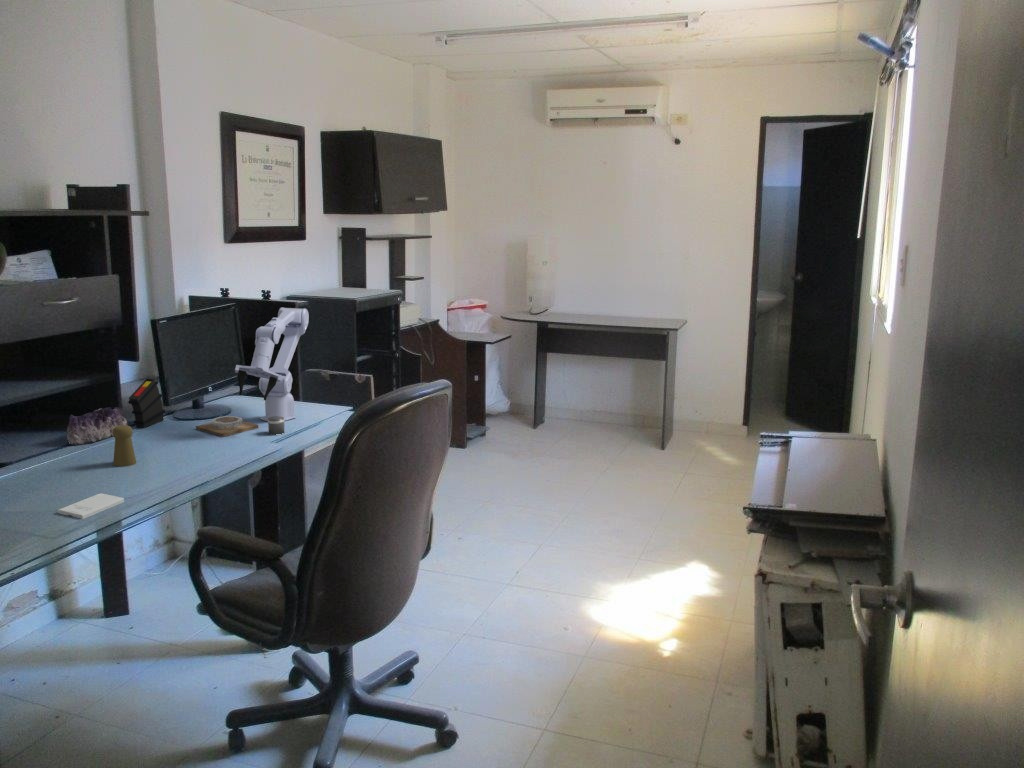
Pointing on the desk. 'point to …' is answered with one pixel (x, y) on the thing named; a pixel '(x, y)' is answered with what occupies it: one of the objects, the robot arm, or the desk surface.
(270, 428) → the charcoal lens
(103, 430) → the geode
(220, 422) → the mount ring
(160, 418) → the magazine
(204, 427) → the walnut board
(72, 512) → the external hard drive
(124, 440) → the cork
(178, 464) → the desk surface
